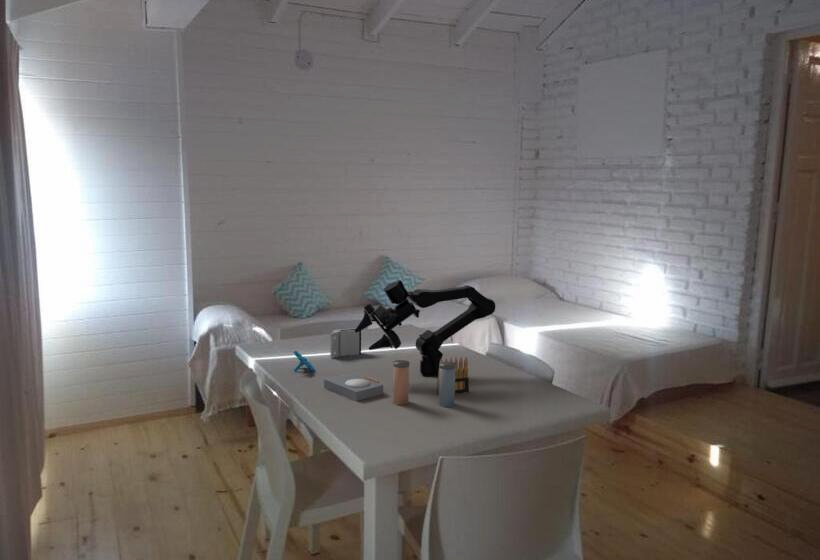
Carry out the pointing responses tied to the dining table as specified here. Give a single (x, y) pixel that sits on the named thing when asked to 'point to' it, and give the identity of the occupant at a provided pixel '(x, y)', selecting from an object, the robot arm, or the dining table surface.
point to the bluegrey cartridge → (447, 384)
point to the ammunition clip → (458, 376)
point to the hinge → (345, 342)
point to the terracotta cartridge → (401, 382)
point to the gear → (302, 362)
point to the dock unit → (354, 386)
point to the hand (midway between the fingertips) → (362, 340)
